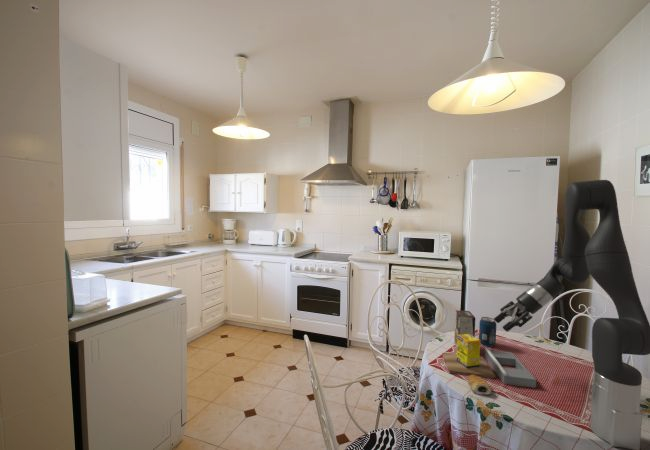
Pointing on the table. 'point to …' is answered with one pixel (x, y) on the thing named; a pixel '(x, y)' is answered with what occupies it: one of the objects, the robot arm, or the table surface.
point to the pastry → (478, 385)
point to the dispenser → (509, 375)
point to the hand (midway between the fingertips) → (499, 325)
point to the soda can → (487, 331)
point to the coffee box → (464, 324)
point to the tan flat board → (461, 369)
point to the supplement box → (468, 350)
